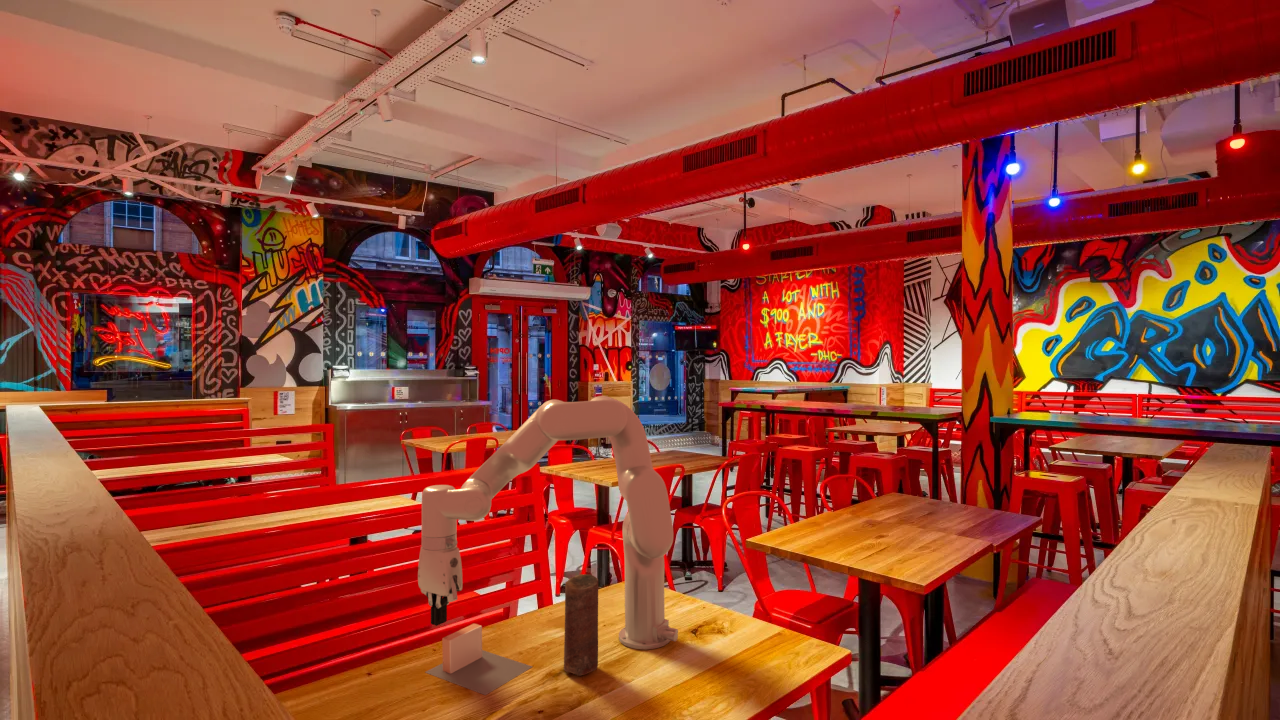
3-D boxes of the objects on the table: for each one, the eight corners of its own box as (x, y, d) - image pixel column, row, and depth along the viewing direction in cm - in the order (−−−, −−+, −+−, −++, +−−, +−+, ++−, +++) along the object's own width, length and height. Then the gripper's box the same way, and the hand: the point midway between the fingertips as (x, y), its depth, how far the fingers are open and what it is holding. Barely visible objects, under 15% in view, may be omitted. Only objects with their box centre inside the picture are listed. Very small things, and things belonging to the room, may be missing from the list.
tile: (482, 656, 149) (481, 625, 149) (450, 673, 142) (450, 640, 142) (474, 654, 151) (473, 623, 150) (442, 670, 143) (442, 638, 143)
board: (532, 671, 144) (532, 666, 144) (485, 700, 133) (485, 695, 133) (474, 651, 154) (473, 647, 154) (424, 676, 142) (424, 672, 142)
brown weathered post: (605, 669, 145) (604, 577, 145) (584, 683, 139) (583, 587, 139) (578, 660, 149) (577, 571, 149) (556, 673, 143) (555, 580, 143)
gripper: (475, 542, 149) (474, 624, 149) (430, 532, 157) (429, 610, 157) (449, 551, 142) (448, 636, 143) (403, 540, 150) (403, 621, 151)
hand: (438, 622), depth 150 cm, fingers closed
